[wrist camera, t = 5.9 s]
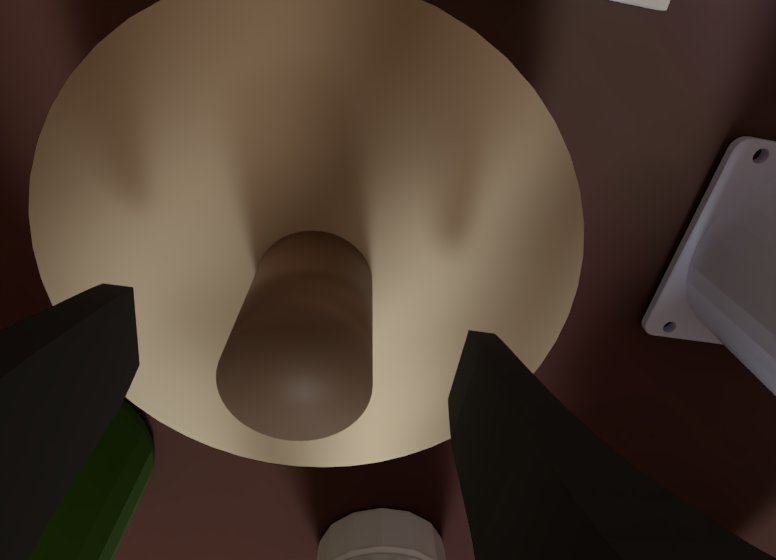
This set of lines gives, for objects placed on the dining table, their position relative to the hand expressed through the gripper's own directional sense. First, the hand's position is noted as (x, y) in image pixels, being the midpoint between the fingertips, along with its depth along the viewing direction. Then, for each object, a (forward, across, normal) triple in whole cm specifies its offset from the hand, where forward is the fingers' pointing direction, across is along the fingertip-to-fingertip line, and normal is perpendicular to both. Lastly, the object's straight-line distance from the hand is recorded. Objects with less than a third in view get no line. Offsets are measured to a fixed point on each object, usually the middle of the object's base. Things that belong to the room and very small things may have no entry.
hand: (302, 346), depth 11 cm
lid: (+3, 0, 0) cm, 3 cm away
